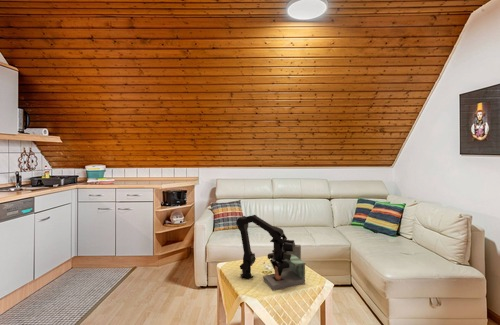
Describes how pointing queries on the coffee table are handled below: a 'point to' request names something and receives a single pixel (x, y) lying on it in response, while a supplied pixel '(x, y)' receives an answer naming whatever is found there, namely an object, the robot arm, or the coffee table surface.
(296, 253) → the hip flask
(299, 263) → the awning
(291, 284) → the socket deck
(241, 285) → the coffee table surface
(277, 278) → the peg
